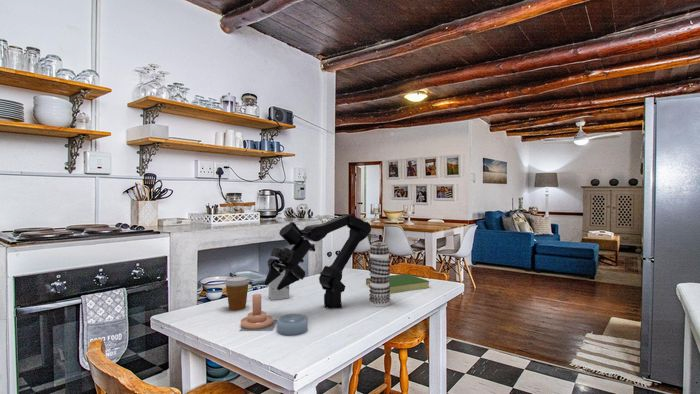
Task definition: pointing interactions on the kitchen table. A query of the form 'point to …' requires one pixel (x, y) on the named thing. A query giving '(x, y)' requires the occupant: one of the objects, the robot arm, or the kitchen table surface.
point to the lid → (256, 316)
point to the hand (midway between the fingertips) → (271, 287)
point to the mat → (264, 328)
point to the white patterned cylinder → (379, 274)
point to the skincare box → (278, 294)
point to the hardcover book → (404, 283)
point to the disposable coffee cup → (237, 292)
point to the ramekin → (292, 324)
